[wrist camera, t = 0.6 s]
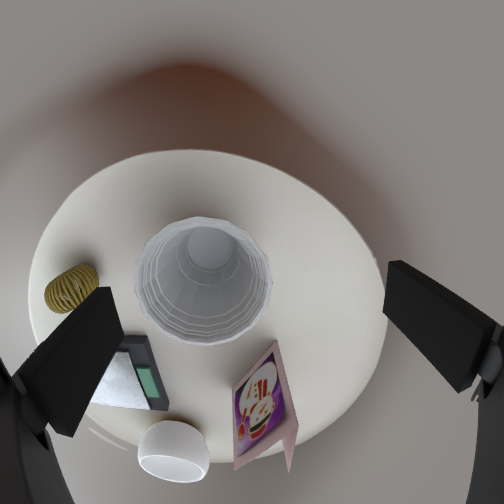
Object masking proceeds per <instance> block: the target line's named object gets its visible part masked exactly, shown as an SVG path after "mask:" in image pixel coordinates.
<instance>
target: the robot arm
mask: <svg viewBox="0 0 504 504" xmlns="http://www.w3.org/2000/svg"><path fill="white" fill-rule="evenodd" d="M383 313H384V314H385V315H386V316H387V317H388V318H389V319H390V320H391V321H392V322H393V323H394V324H395V325H396V326H397V327H398V328H399V329H400V330H401V332H402V333H404V334H405V336H406V337H407V338H408V339H409V340H410V341H411V342H412V343H413V344H414V345H415V346H416V347H417V348H418V349H419V351H420V352H421V353H422V354H423V355H424V356H425V357H426V358H427V359H428V360H429V361H430V363H432V365H433V366H434V367H435V368H436V369H437V370H438V371H439V372H440V374H441V375H442V376H443V377H444V378H445V379H446V380H447V381H448V383H449V384H450V385H451V386H452V387H453V388H454V390H455V391H456V392H457V393H460V392H462V391H464V390H465V389H467V388H469V387H471V386H472V383H473V381H474V379H475V377H476V375H477V373H478V374H479V375H480V376H481V377H482V378H481V380H480V382H479V384H478V386H477V388H476V390H475V392H474V394H473V396H472V398H471V401H473V400H474V398H475V397H476V395H478V394H479V397H478V399H477V402H479V408H478V431H477V443H476V453H475V460H474V467H473V473H472V478H471V483H470V488H469V493H468V497H467V501H466V504H504V326H501V325H500V324H498V323H497V322H495V321H494V320H493V319H491V318H490V317H489V316H487V315H486V314H485V313H483V312H481V311H480V310H479V309H477V308H475V307H474V306H473V305H471V304H470V303H468V302H467V301H465V300H464V299H462V298H461V297H459V296H458V295H456V294H455V293H453V292H452V291H450V290H449V289H447V288H446V287H444V286H443V285H441V284H439V283H438V282H436V281H435V280H433V279H432V278H430V277H428V276H427V275H425V274H423V273H422V272H420V271H418V270H417V269H415V268H414V267H411V266H410V265H409V264H407V263H405V262H404V261H402V260H397V261H390V262H389V263H388V273H387V283H386V291H385V299H384V306H383ZM124 337H125V336H124V333H123V330H122V327H121V323H120V320H119V317H118V313H117V310H116V306H115V303H114V299H113V295H112V292H111V288H110V287H97V288H96V289H95V290H93V291H92V292H91V293H90V294H89V295H88V296H87V297H86V298H85V299H84V300H83V301H82V302H81V303H80V304H79V305H78V306H77V307H76V308H75V309H74V310H73V311H72V312H71V313H70V314H69V315H68V316H67V317H66V318H65V320H64V321H63V322H62V323H61V324H60V325H59V326H58V327H57V328H56V329H55V330H54V331H53V332H52V333H51V334H50V335H49V337H48V338H47V339H46V340H45V341H43V342H42V343H41V344H40V345H39V346H38V347H37V348H36V349H35V350H34V352H33V353H32V354H31V355H30V356H29V358H27V360H26V361H25V362H24V363H23V364H22V365H21V367H20V368H19V369H18V370H17V371H16V372H15V374H14V375H13V376H12V377H11V376H10V374H9V373H8V371H7V369H6V367H5V365H4V363H3V362H2V360H1V358H0V504H75V503H74V501H73V499H72V497H71V494H70V492H69V490H68V487H67V485H66V482H65V480H64V477H63V475H62V472H61V469H60V466H59V464H58V461H57V458H56V455H55V452H54V448H53V445H52V442H51V438H50V435H49V433H48V431H47V430H46V429H45V427H46V425H47V423H48V422H49V424H50V425H51V426H52V428H53V429H54V430H55V432H56V433H58V434H62V435H65V436H68V437H73V436H74V434H75V432H76V430H77V427H78V425H79V423H80V421H81V419H82V417H83V415H84V413H85V411H86V409H87V407H88V405H89V403H90V401H91V399H92V397H93V395H94V393H95V391H96V389H97V387H98V385H99V383H100V381H101V379H102V377H103V375H104V374H105V372H106V370H107V368H108V366H109V364H110V362H111V361H112V359H113V357H114V355H115V353H116V352H117V350H118V348H119V346H120V344H121V343H122V341H123V339H124Z"/></svg>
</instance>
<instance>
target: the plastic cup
mask: <svg viewBox="0 0 504 504" xmlns="http://www.w3.org/2000/svg"><path fill="white" fill-rule="evenodd" d="M272 284H273V282H272V277H271V272H270V267H269V262H268V258H267V256H266V255H265V253H264V252H263V251H262V249H261V248H260V246H259V245H258V244H257V242H256V241H255V239H254V238H253V237H252V235H250V234H249V233H247V232H245V231H244V230H242V229H240V228H239V227H237V226H235V225H234V224H232V223H230V222H229V221H227V220H221V219H215V218H208V217H201V216H196V217H192V218H188V219H184V220H180V221H176V222H173V223H169V224H168V225H167V226H165V227H164V228H163V229H162V230H160V231H159V232H158V233H156V234H155V235H154V236H153V237H152V238H150V239H149V240H148V241H147V242H146V244H145V246H144V248H143V250H142V252H141V254H140V256H139V258H138V260H137V262H136V264H135V284H134V291H135V293H136V296H137V299H138V301H139V304H140V306H141V309H142V311H143V314H144V315H145V316H146V317H147V318H148V319H149V320H150V321H151V323H152V324H153V325H154V326H155V327H156V328H157V329H158V330H159V331H160V332H161V333H163V334H165V335H167V336H169V337H171V338H173V339H175V340H177V341H179V342H181V343H184V344H192V345H200V346H212V345H217V344H221V343H226V342H230V341H233V340H235V339H236V338H238V337H239V336H241V335H242V334H244V333H245V332H247V331H249V330H250V329H252V328H253V327H254V326H255V324H256V323H257V321H258V320H259V319H260V317H261V316H262V314H263V313H264V312H265V310H266V309H267V307H268V302H269V298H270V294H271V289H272Z"/></svg>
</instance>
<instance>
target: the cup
mask: <svg viewBox="0 0 504 504" xmlns="http://www.w3.org/2000/svg"><path fill="white" fill-rule="evenodd" d="M138 461H139V464H140V466H141V467H142V468H143V469H144V470H145V471H147V472H149V473H150V474H151V475H154V476H156V477H159V478H161V479H165V480H169V481H174V482H185V483H186V482H195V481H198V480H200V479H203V478H204V476H205V474H206V473H207V470H208V468H209V464H210V453H209V450H208V447H207V444H206V441H205V438H204V437H203V436H202V434H201V433H200V432H199V431H198V430H196V429H195V428H194V427H192V426H190V425H188V424H186V423H183V422H179V421H167V420H165V421H161V422H157V423H155V424H153V425H152V426H150V427H149V428H148V429H147V430H146V431H145V433H144V434H143V435H142V437H141V440H140V444H139V448H138Z"/></svg>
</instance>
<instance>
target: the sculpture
mask: <svg viewBox="0 0 504 504" xmlns="http://www.w3.org/2000/svg"><path fill="white" fill-rule="evenodd" d="M75 274H76V275H77V276H78V277H79V278H80V279H81V281H80V280H79V279H78V277H77V276H76V275H75ZM72 277H73V278H74V279H75V280H76V281H77V283H78V285H79V288H80V291H79V289H78V287H77V286H76V283H75V282H74V279H73V278H72ZM84 281H85V282H84ZM81 282H82V284H81ZM72 284H73V285H72ZM73 286H74V287H73ZM98 286H99V278H98V275H97V273H96V271H95V270H94V269H93V268H92V267H91V266H88V265H85V264H81V265H78V266H75V267H73V268H71V269H69V270H67V271H66V272H64V273H63V274H61V275H59V276H58V277H56V278H55V279H54V280H52V281H51V282H50V283H49V284H48V285H47V287H46V289H45V293H44V297H45V302H46V304H47V306H48V307H49V308H50V309H51V310H52V311H53V312H56V313H67V312H70V311H72V310H74V309H75V308H76V307H77V306H78V305H79V304H80V303H81V302H82V301H83V300H84V299H85V298H86V297H87V296H88V295H89V294H90V293H91V292H92V291H93V290H95V289H96V288H97V287H98ZM74 288H75V289H76V290H75V289H74ZM67 291H68V292H67ZM62 292H63V293H62ZM59 295H60V297H61V298H62V299H60V297H59ZM64 295H65V296H64ZM69 295H70V296H69ZM55 296H56V297H55ZM65 297H66V298H67V299H68V300H69V301H68V300H67V299H66V298H65ZM56 298H57V299H56Z"/></svg>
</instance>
